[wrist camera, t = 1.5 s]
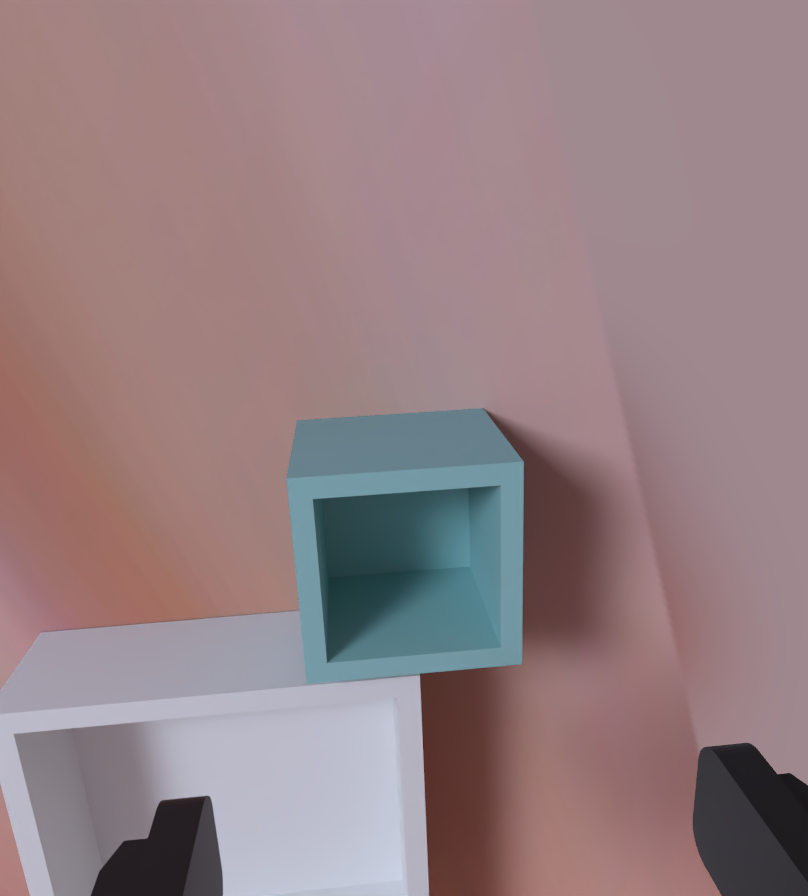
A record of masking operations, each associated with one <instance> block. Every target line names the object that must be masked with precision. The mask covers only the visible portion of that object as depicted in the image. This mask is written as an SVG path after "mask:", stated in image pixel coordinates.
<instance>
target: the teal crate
mask: <svg viewBox="0 0 808 896" xmlns="http://www.w3.org/2000/svg"><path fill="white" fill-rule="evenodd" d="M287 489H288V499H289V509H290V519H291V529H292V539H293V550H294V560H295V570H296V580H297V590H298V600H299V611H300V621H301V631H302V641H303V651H304V661H305V672H306V682H307V684H311V683H322V682H333V681H344V680H355V679H366V678H377V677H388V676H399V675H410V674H421V673H432V672H443V671H454V670H465V669H476V668H487V667H498V666H509V665H520V664H522V621H523V502H524V461H523V460H522V459H521V457H520V456H519V455H518V453H517V452H516V451H515V450H514V448H513V447H512V446H511V444H510V443H509V442H508V440H507V439H506V438H505V436H504V435H503V434H502V432H501V431H500V430H499V429H498V427H497V426H496V425H495V423H494V422H493V421H492V419H491V418H490V417H489V415H488V414H487V413H486V412H485V410H484V409H483V408H480V409H465V410H450V411H435V412H419V413H404V414H389V415H374V416H358V417H343V418H328V419H313V420H297V424H296V430H295V435H294V441H293V446H292V451H291V457H290V462H289V468H288V473H287Z"/></svg>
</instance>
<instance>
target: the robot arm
mask: <svg viewBox="0 0 808 896" xmlns="http://www.w3.org/2000/svg"><path fill="white" fill-rule="evenodd" d="M693 831H694V837H695V841H696V845H697V849H698V852H699V854H700V857H701V859H702V861H703V863H704V865H705V867H706V869H707V870H708V872H709V874H710V876H711V877H712V879H713V881H714V883H715V884H716V886H717V888H718V890H719V891H720V893H721V895H722V896H808V785H806V784H805V783H803V782H802V781H800V780H799V779H797V778H796V777H795V776H793V775H792V774H790V773H787V774H776V772H775V771H774V770H773V768H772V767H771V766H770V765H769V763H768V762H767V761H766V760H765V758H764V757H763V756H762V755H761V753H760V752H759V751H758V750H757V749H756V747H754V746H753V745H752V744H749V743H742V744H733V745H721V746H712V747H704V748H703V749H702V750H701V751H700V754H699V760H698V770H697V781H696V791H695V802H694V812H693ZM91 896H223V875H222V865H221V859H220V852H219V846H218V839H217V832H216V826H215V819H214V812H213V806H212V801H211V798H210V796H198V797H188V798H178V799H168V800H162V801H160V803H159V804H158V807H157V809H156V813H155V816H154V819H153V822H152V826H151V829H150V832H149V836H148V838H146V839H137V840H127V841H123V843H122V844H121V845H120V846H119V847H118V849H117V850H116V851H115V852H114V854H113V855H112V856H111V857H110V859H109V860H108V861H107V862H106V864H105V865H104V866H103V867H102V869H101V870H100V871H99V874H98V877H97V879H96V882H95V885H94V888H93V890H92V893H91Z"/></svg>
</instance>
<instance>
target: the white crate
mask: <svg viewBox="0 0 808 896" xmlns="http://www.w3.org/2000/svg"><path fill="white" fill-rule="evenodd" d="M0 784H1V787H2V791H3V795H4V799H5V802H6V806H7V810H8V814H9V818H10V821H11V825H12V829H13V833H14V836H15V840H16V844H17V848H18V852H19V855H20V859H21V863H22V867H23V870H24V874H25V878H26V882H27V886H28V889H29V893H30V896H91V893H92V890H93V888H94V885H95V882H96V879H97V877H98V874H99V871H100V870H101V869H102V867H103V866H104V865H105V864H106V862H107V861H108V860H109V859H110V857H111V856H112V855H113V854H114V852H115V851H116V850H117V849H118V847H119V846H120V845H121V844H122V843H123V841H127V840H137V839H146V838H148V836H149V832H150V829H151V826H152V822H153V819H154V816H155V813H156V809H157V807H158V804H159V803H160V801H162V800H168V799H178V798H188V797H198V796H210V798H211V801H212V806H213V812H214V819H215V826H216V832H217V839H218V846H219V852H220V859H221V865H222V875H223V896H429V880H428V856H427V832H426V808H425V784H424V761H423V737H422V713H421V689H420V674H410V675H399V676H388V677H377V678H366V679H355V680H344V681H333V682H322V683H311V684H307V682H306V672H305V661H304V651H303V641H302V631H301V621H300V611H290V612H278V613H266V614H254V615H243V616H231V617H219V618H207V619H195V620H184V621H172V622H160V623H148V624H136V625H125V626H113V627H101V628H89V629H77V630H65V631H54V632H42V633H40V634H39V636H38V637H37V639H36V640H35V641H34V643H33V644H32V646H31V647H30V649H29V650H28V651H27V653H26V654H25V656H24V657H23V659H22V660H21V661H20V663H19V664H18V666H17V667H16V669H15V670H14V671H13V673H12V674H11V676H10V677H9V679H8V680H7V682H6V683H5V684H4V686H3V687H2V689H1V690H0Z"/></svg>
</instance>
